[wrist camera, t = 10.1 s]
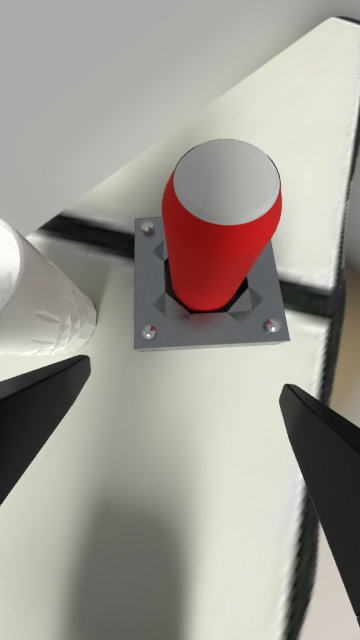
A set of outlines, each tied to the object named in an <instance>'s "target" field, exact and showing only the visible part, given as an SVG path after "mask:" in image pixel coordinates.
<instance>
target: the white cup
mask: <svg viewBox="0 0 360 640" xmlns="http://www.w3.org/2000/svg"><path fill="white" fill-rule="evenodd" d="M96 314H97V312H96V310H95V307H94V305H93V303H92V301H91V299H90V298H89V297H88V296H86V295H85V294H84V293H83V292H82V291H81V290H80V289H79V288H78V287H77V286H76V285H75V283H73V282H72V281H71V280H70V279H69V278H68V277H67V276H66V275H65V274H64V273H63V272H62V271H61V270H60V269H59V268H58V267H57V266H56V265H54V264H53V263H52V262H51V261H50V260H49V259H48V258H47V257H45V256H44V255H43V254H42V253H41V252H40V251H39V250H38V249H36V248H35V247H34V246H33V245H32V244H31V243H30V242H29V241H28V240H26V239H25V238H24V237H23V236H22V235H21V234H20V233H19V232H18V231H17V230H15V229H14V228H13V227H12V226H11V225H10V224H9V223H8V222H6V221H5V220H3V219H2V218H0V355H42V354H46V355H62V354H65V353H69V352H73V351H76V350H77V349H78V348H79V347H81V346H82V345H83V344H84V343H86V342H87V341H88V340H89V338H90V336H91V334H92V332H93V331H94V329H95V327H96Z"/></svg>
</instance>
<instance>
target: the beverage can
mask: <svg viewBox="0 0 360 640" xmlns="http://www.w3.org/2000/svg"><path fill="white" fill-rule="evenodd" d="M281 210H282V195H281V181H280V176H279V172H278V170H277V168H276V166H275V164H274V163H273V161H272V160H271V159H270V158H269V157H268V156H267V155H266V154H265V153H264V152H263V151H261V150H260V149H259V148H257V147H256V146H254V145H252V144H249V143H247V142H244V141H240V140H235V139H216V140H211V141H208V142H205V143H202V144H200V145H198V146H196V147H194V148H192V149H191V150H189V151H188V152H187V153H186V154H185V155H184V156H183V157H182V158H181V159H180V160H179V162H178V164H177V165H176V167H175V169H174V171H173V173H172V175H171V177H170V179H169V181H168V183H167V185H166V188H165V191H164V195H163V200H162V218H163V225H164V232H165V239H166V246H167V253H168V259H169V266H170V273H171V280H172V287H173V291H174V294H175V296H176V298H177V300H178V301H179V302H180V303H181V304H182V305H183V306H184V307H185V308H187V309H188V310H190V311H192V312H195V313H201V314H203V313H212V312H215V311H218V310H220V309H221V308H223V307H224V306H225V305H227V303H228V302H229V301H230V300H231V298H232V297H233V295H234V294H235V292H236V291H237V289H238V288H239V286H240V285H241V283H242V282H243V280H244V279H245V277H246V276H247V274H248V273H249V271H250V269H251V268H252V266H253V265H254V263H255V262H256V260H257V259H258V257H259V256H260V254H261V253H262V251H263V250H264V248H265V247H266V245H267V244H268V242H269V241H270V239H271V238H272V236H273V234H274V232H275V231H276V228H277V226H278V223H279V220H280V216H281Z"/></svg>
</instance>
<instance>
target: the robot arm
mask: <svg viewBox="0 0 360 640" xmlns="http://www.w3.org/2000/svg"><path fill="white" fill-rule="evenodd" d="M90 373H91V367H90V358H89V356H86V355H77V356H74V357H72V358H69V359H66V360H63V361H60V362H57V363H54V364H51V365H48V366H45V367H42V368H39V369H36V370H33V371H30V372H27V373H24V374H21V375H18V376H16V377H13V378H10V379H7V380H4V381H1V382H0V505H1V504H2V503H3V501H4V500H5V498H6V497H7V496H8V494H9V493H10V492H11V490H12V489H13V487H14V486H15V485H16V483H17V482H18V480H19V479H20V478H21V476H22V475H23V473H24V472H25V471H26V469H27V468H28V466H29V465H30V464H31V462H32V461H33V459H34V458H35V457H36V455H37V454H38V452H39V451H40V450H41V448H42V447H43V445H44V444H45V443H46V441H47V440H48V438H49V437H50V436H51V434H52V433H53V431H54V430H55V429H56V427H57V426H58V425H59V423H60V422H61V420H62V419H63V418H64V416H65V415H66V413H67V412H68V411H69V409H70V408H71V406H72V405H73V403H74V402H75V400H76V398H77V397H78V395H79V393H80V391H81V390H82V388H83V386H84V385H85V383H86V381H87V379H88V378H89V376H90ZM279 404H280V408H281V412H282V416H283V419H284V423H285V427H286V431H287V434H288V438H289V441H290V443H291V446H292V449H293V451H294V454H295V457H296V459H297V462H298V465H299V467H300V470H301V473H302V475H303V478H304V481H305V483H306V486H307V488H308V491H309V494H310V496H311V499H312V502H313V504H314V507H315V510H316V512H317V515H318V518H319V520H320V523H321V526H322V528H323V531H324V533H325V536H326V539H327V541H328V544H329V547H330V549H331V552H332V555H333V557H334V560H335V562H336V565H337V568H338V570H339V573H340V576H341V578H342V581H343V584H344V586H345V589H346V592H347V594H348V597H349V600H350V602H351V605H352V607H353V610H354V613H355V615H356V616H357V621H358V624H359V627H360V428H359V427H357V426H356V425H354V424H353V423H351V422H350V421H348V420H347V419H345V418H344V417H342V416H341V415H340V414H338V413H336V412H335V411H333V410H332V409H331V408H329V407H328V406H326V405H325V404H323V403H322V402H320V401H319V400H317V399H316V398H314V397H313V396H311V395H310V394H308V393H307V392H305V391H304V390H302V389H301V388H299V387H298V386H296V385H294V384H285V385H284V386H283V389H282V392H281V395H280V398H279Z"/></svg>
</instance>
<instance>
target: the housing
mask: <svg viewBox="0 0 360 640" xmlns="http://www.w3.org/2000/svg"><path fill="white" fill-rule="evenodd" d="M169 271H170V266H169V259H168V253H167V246H166V239H165V232H164V225H163V218H162V217H154V218H137V219H135V280H134V349H135V350H138V351H140V352H143V351H162V350H181V349H200V348H219V347H238V346H257V345H276V344H280V343H284V342H287V341H290V337H289V332H288V327H287V322H286V317H285V312H284V306H283V301H282V296H281V291H280V286H279V280H278V275H277V270H276V265H275V260H274V254H273V249H272V244H271V239H270V241H269V242H268V244H267V245H266V247H265V248H264V250H263V251H262V253H261V254H260V256H259V257H258V259H257V260H256V262H255V263H254V265H253V266H252V268H251V269H250V271H249V273H248V274H247V276H246V277H245V279H244V280H243V282H242V283H241V285H240V286H239V288H240V296H241V297H240V298H239V299H238V300H237V301H236V302H235V304H234V305H233V306H232V307H231V308H230V309H229V310H228V311H227V312H222V313H203V314H190V313H189V312H188V311H187V310H185V309H184V308H183V307H182V306H181V305H180V304H178V303H177V302H176V301H175V300H174V299H173V298H171V297H170V296H169V295H168V294H167V279H166V274H167V273H168V272H169Z"/></svg>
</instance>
